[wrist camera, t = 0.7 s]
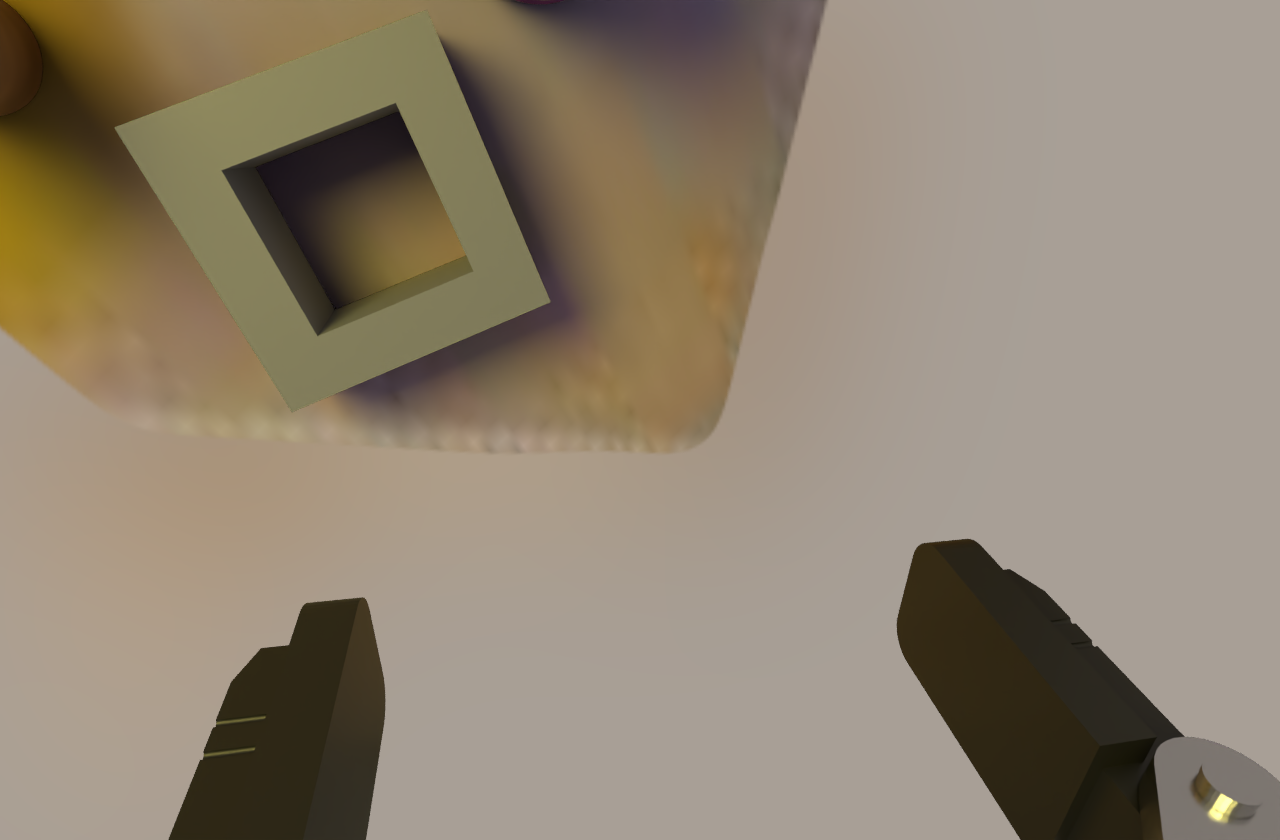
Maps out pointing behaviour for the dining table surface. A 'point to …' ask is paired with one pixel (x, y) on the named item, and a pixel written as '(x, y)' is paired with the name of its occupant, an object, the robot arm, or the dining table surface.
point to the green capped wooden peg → (17, 61)
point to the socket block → (264, 245)
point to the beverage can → (539, 1)
